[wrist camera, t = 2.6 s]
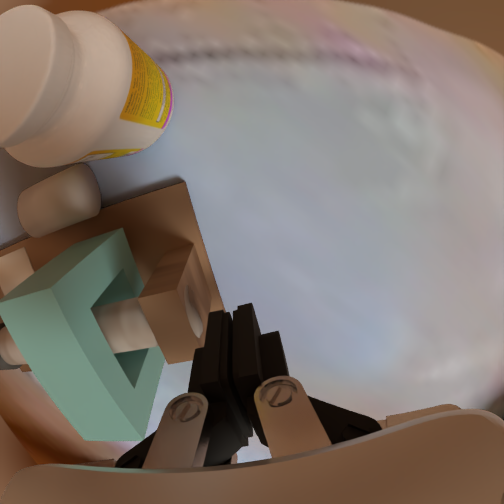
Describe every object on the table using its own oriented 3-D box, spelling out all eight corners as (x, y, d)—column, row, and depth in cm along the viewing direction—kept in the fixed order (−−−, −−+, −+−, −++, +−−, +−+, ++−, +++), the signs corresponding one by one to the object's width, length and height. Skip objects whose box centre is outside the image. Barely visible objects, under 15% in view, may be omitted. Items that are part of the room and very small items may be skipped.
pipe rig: (234, 336, 23) (235, 410, 16) (24, 368, 24) (-9, 416, 17) (185, 181, 19) (156, 201, 12) (-29, 264, 20) (-79, 298, 13)
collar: (169, 343, 21) (144, 440, 13) (123, 351, 21) (85, 440, 13) (122, 227, 18) (50, 287, 10) (74, 243, 19) (-6, 304, 10)
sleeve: (102, 183, 20) (99, 226, 18) (50, 205, 20) (45, 246, 18) (76, 152, 16) (69, 196, 15) (23, 179, 17) (13, 222, 15)
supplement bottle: (137, 42, 16) (38, -51, 4) (196, 109, 18) (134, 46, 6) (67, 110, 17) (-74, 99, 5) (120, 177, 19) (-12, 225, 7)
